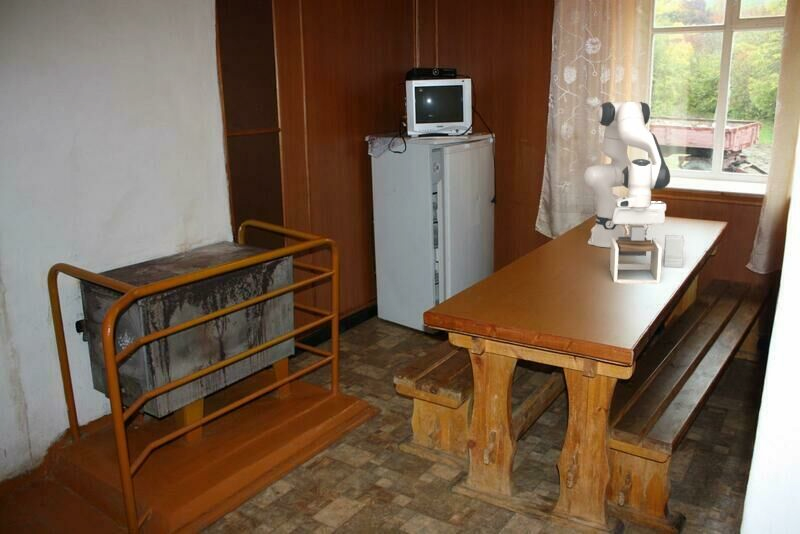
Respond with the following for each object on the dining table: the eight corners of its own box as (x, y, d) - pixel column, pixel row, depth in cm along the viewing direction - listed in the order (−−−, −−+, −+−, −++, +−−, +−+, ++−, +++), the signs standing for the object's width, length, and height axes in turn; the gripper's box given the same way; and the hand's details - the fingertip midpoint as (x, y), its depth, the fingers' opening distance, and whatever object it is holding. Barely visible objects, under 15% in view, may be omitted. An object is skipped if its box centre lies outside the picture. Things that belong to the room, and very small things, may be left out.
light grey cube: (629, 237, 284) (630, 225, 282) (642, 237, 283) (643, 225, 281) (631, 240, 279) (631, 228, 278) (644, 240, 278) (645, 228, 277)
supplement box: (681, 263, 303) (683, 235, 300) (682, 268, 296) (684, 239, 293) (663, 262, 305) (665, 234, 302) (663, 267, 299) (665, 238, 295)
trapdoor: (613, 252, 300) (614, 236, 298) (648, 252, 297) (649, 236, 295) (618, 265, 281) (619, 248, 279) (655, 265, 279) (656, 248, 277)
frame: (609, 268, 300) (610, 237, 296) (652, 269, 296) (654, 237, 292) (614, 283, 281) (615, 249, 277) (660, 283, 277) (662, 249, 273)
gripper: (665, 199, 278) (663, 233, 282) (611, 199, 282) (610, 232, 286) (668, 202, 272) (665, 236, 276) (613, 202, 276) (611, 236, 280)
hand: (637, 234), depth 281 cm, fingers closed on light grey cube, 5 cm apart
